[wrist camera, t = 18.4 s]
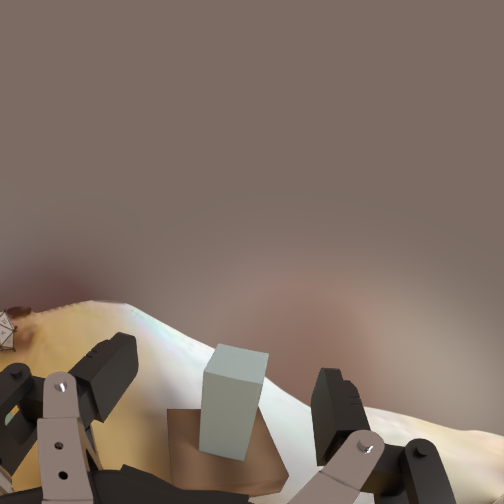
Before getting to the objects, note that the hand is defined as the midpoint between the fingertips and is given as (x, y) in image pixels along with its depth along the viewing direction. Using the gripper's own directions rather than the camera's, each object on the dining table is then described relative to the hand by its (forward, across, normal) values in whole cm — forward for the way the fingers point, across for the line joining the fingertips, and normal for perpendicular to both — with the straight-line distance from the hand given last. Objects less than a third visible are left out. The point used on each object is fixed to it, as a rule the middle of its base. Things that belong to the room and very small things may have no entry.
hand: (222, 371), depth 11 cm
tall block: (+11, 0, +20) cm, 22 cm away
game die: (+15, +45, +24) cm, 53 cm away
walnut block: (+10, +1, +25) cm, 27 cm away
